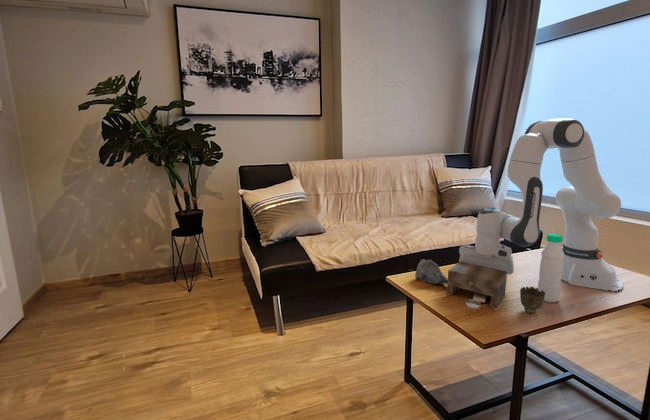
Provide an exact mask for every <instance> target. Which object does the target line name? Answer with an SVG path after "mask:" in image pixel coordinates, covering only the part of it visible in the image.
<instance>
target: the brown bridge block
mask: <svg viewBox="0 0 650 420" xmlns="http://www.w3.org/2000/svg"><path fill="white" fill-rule="evenodd" d="M507 277H508V274H507V271H502V270H498V269H493V268H488V267H483V266H479V265H474V264H469V263H464V262H460V261H458V262H457V263H456V264H454V265H453V266H452V267H451V268H449V269H448V271H447V280H448V284H446V285H447V286H446V287H447V288H446V289H447V290H446V295H449V296H453V295H454V294H455V293H456V292H458V291H459V289H463V290H466V291H471V292H474V293H475V292H478V293H482V294H486V295H487V296H490V307H493V308H498V306H499V304H501V302H502V301H503V299H504V298H505V296H506V289H507V288H506V287H507Z"/></svg>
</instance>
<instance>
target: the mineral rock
mask: <svg viewBox="0 0 650 420" xmlns="http://www.w3.org/2000/svg"><path fill="white" fill-rule="evenodd" d="M414 279H415V280H419V281H422V282H426V283H429V284H434V285H438V284H440V285H442V284H446V285H447V284H448V277H446V275H445V274H444V272H442V271H441V268H440V267H439V265H438V264H437V263H435V262H434V261H433V260H432V259H423V258H422V259H420V261H419V263H418V264H417V267H416V270H415V278H414Z"/></svg>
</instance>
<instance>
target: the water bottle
mask: <svg viewBox="0 0 650 420" xmlns="http://www.w3.org/2000/svg"><path fill="white" fill-rule="evenodd" d="M546 236H547V237H546V242H547V244H546V245H545V247H544V248H543V250H542V251H541V259H540V264H539V271H538V273H539V276H538V278H539V279H538V283H537V288H538V291H540V292H541V291H542V290H543V292H545V296H544V300H543V302H545V303H546V302H547V303H556V302H557V303H558V301H559V300H560V291H561V282H562V279H561V277H562V271H563V259H564V252H563V251H562V246H561V244H563V243H562V242H563V236H562V235H561V234H557V233H549V234H547V235H546Z"/></svg>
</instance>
